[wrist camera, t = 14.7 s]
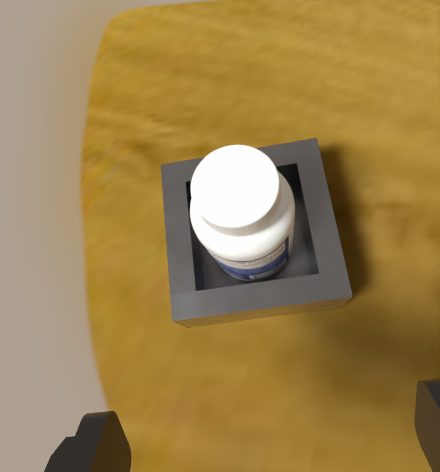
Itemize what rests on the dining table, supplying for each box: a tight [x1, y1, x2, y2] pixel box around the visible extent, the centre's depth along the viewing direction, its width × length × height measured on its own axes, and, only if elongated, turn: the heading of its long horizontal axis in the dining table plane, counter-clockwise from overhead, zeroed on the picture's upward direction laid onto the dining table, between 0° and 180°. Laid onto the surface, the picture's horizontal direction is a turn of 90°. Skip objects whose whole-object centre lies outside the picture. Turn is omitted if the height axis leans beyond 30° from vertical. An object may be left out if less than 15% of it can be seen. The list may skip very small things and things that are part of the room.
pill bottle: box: [190, 145, 295, 281], centre depth 22 cm, size 5×5×10 cm
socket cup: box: [161, 138, 353, 328], centre depth 25 cm, size 10×10×4 cm
